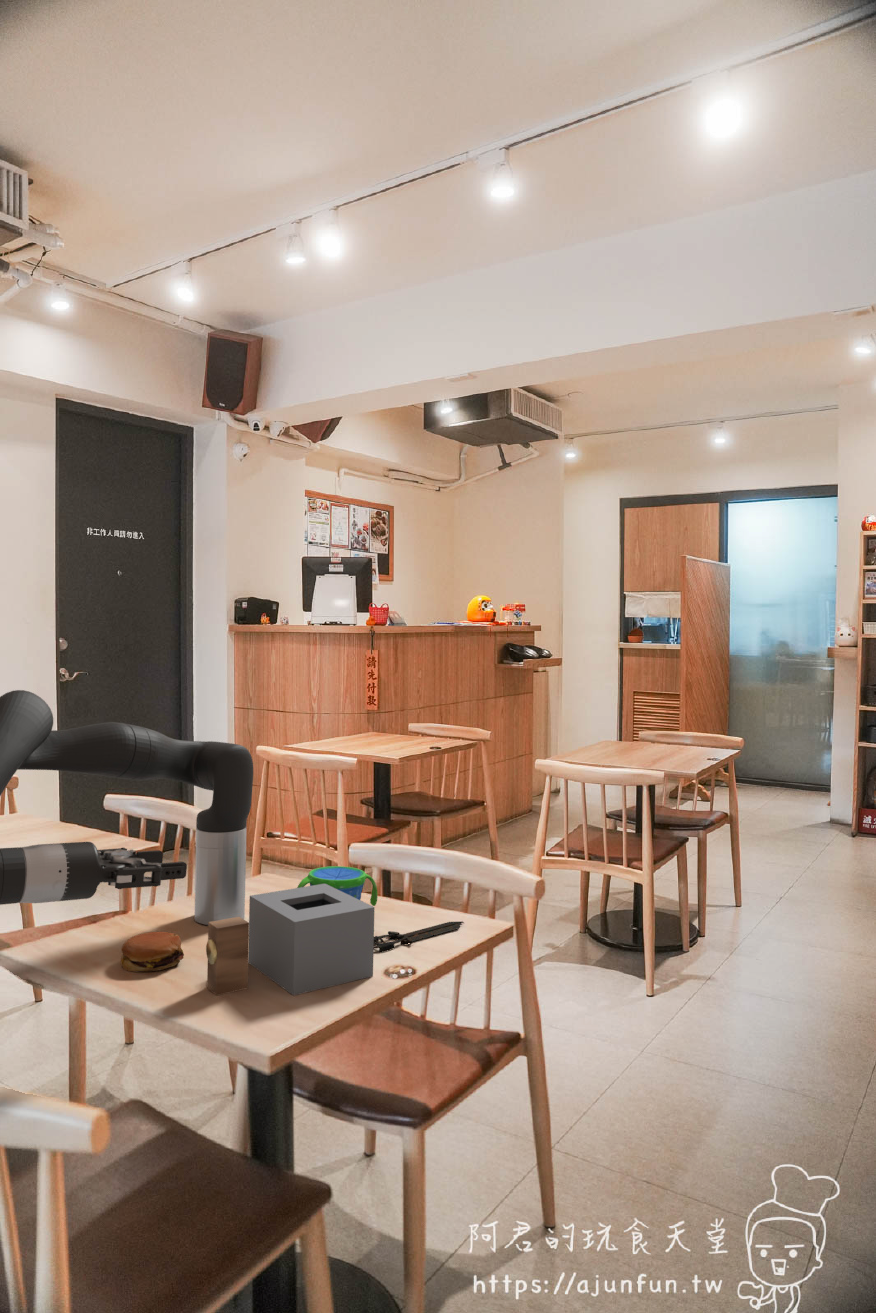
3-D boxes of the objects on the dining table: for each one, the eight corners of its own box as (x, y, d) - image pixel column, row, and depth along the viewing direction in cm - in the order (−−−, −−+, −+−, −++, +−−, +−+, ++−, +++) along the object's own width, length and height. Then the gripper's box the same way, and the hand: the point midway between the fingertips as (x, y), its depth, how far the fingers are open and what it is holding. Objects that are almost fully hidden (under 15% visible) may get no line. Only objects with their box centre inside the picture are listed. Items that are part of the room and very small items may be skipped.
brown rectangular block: (205, 987, 134) (206, 922, 134) (238, 980, 137) (239, 916, 137) (214, 995, 131) (216, 928, 131) (247, 988, 134) (248, 922, 134)
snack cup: (369, 915, 171) (370, 863, 171) (384, 932, 161) (385, 877, 161) (288, 921, 166) (290, 868, 166) (299, 940, 156) (300, 882, 156)
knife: (459, 923, 169) (459, 916, 169) (480, 933, 163) (480, 925, 163) (344, 948, 154) (344, 940, 154) (364, 959, 148) (364, 951, 148)
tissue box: (248, 962, 145) (249, 895, 144) (323, 946, 153) (325, 883, 153) (293, 995, 132) (294, 921, 131) (372, 976, 140) (374, 907, 140)
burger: (109, 964, 143) (109, 935, 143) (159, 950, 150) (160, 922, 150) (143, 980, 136) (144, 950, 136) (194, 964, 144) (195, 936, 144)
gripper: (74, 853, 111) (196, 846, 121) (42, 834, 122) (156, 829, 132) (69, 913, 111) (192, 901, 121) (37, 888, 122) (152, 879, 132)
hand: (173, 863), depth 127 cm, fingers open, 8 cm apart
